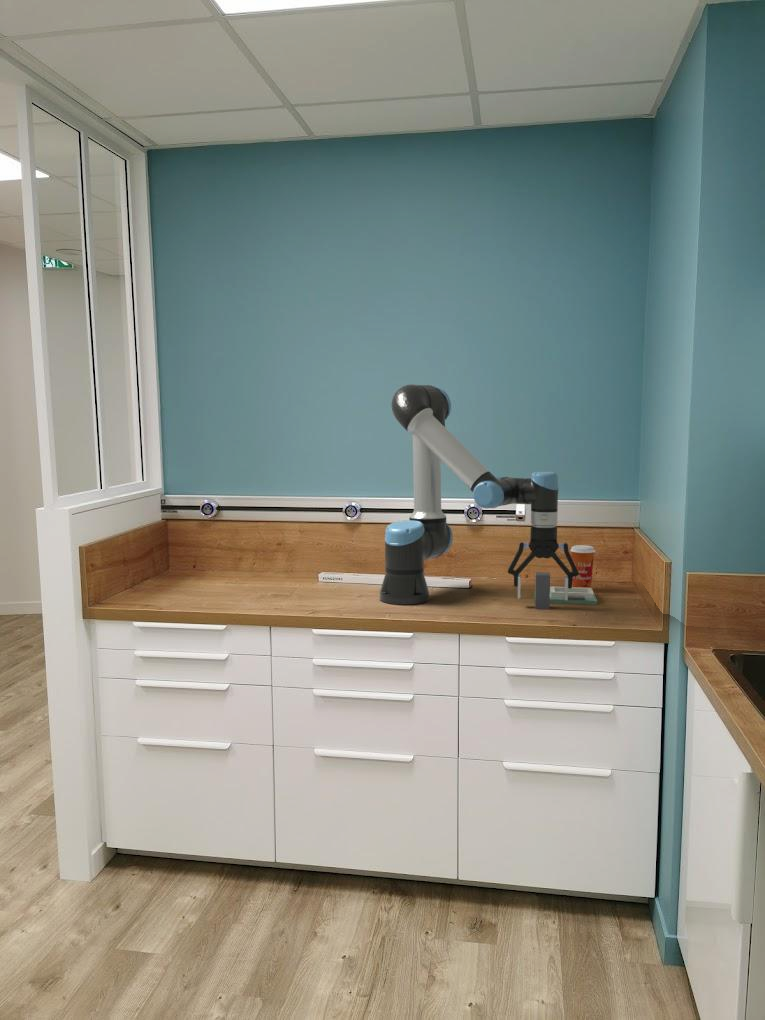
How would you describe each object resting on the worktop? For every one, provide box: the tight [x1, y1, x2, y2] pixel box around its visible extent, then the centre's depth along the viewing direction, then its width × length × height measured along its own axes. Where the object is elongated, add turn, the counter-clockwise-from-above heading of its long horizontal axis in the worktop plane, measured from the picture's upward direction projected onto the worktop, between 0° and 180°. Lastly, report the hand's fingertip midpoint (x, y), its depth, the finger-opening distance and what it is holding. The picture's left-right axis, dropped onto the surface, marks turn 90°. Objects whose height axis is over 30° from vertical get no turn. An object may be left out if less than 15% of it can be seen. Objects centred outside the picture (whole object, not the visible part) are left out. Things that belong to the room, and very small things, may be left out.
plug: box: [534, 571, 551, 610], centre depth 237 cm, size 4×5×10 cm
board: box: [533, 585, 598, 606], centre depth 248 cm, size 18×14×3 cm
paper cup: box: [569, 544, 597, 588], centre depth 259 cm, size 8×8×14 cm
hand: (542, 598), depth 237 cm, fingers open, 13 cm apart
